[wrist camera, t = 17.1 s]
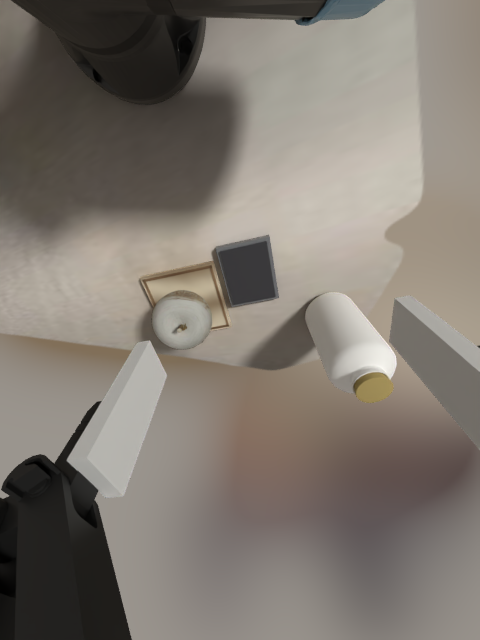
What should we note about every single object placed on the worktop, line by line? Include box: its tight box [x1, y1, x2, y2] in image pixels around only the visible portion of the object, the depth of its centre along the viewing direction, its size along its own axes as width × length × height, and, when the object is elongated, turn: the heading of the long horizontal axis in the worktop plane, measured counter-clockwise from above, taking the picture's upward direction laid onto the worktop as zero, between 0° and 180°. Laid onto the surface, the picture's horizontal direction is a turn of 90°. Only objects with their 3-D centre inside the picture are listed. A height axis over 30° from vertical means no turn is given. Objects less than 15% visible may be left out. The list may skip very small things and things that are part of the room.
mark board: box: [140, 261, 232, 331], centre depth 42 cm, size 12×12×1 cm
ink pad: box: [216, 235, 279, 307], centre depth 39 cm, size 10×8×2 cm
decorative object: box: [151, 290, 212, 350], centre depth 37 cm, size 9×9×10 cm
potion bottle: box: [305, 292, 397, 403], centre depth 36 cm, size 8×8×18 cm
